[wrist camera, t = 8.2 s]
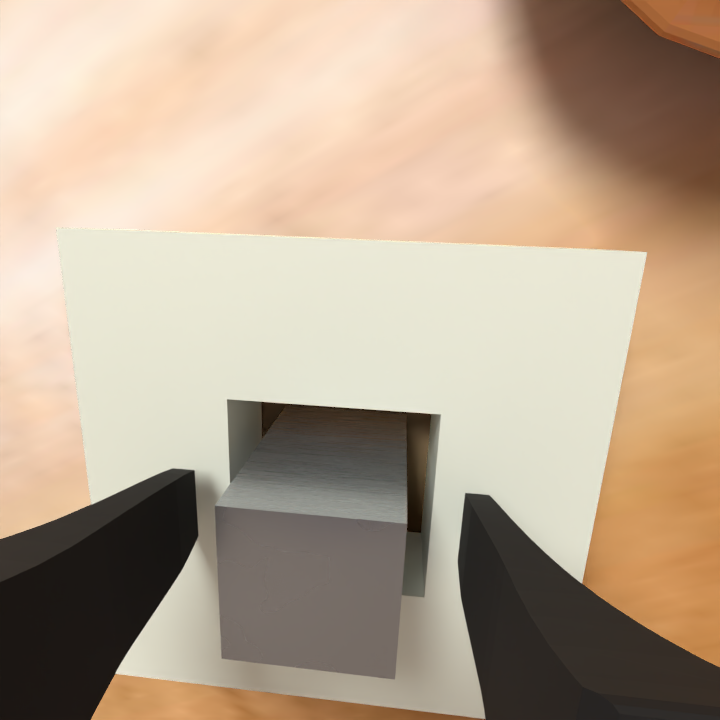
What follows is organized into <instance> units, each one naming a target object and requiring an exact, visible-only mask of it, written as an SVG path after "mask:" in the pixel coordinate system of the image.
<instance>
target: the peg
mask: <svg viewBox="0 0 720 720" xmlns="http://www.w3.org/2000/svg"><path fill="white" fill-rule="evenodd" d="M215 524H216V547H217V569H218V591H219V613H220V635H221V658H222V659H228V660H236V661H244V662H253V663H261V664H269V665H278V666H286V667H294V668H303V669H311V670H319V671H328V672H336V673H344V674H353V675H361V676H369V677H378V678H386V679H394V680H395V673H396V661H397V648H398V635H399V622H400V610H401V597H402V584H403V571H404V559H405V546H406V533H407V427H406V414H396V413H382V412H369V411H355V410H342V409H328V408H315V407H301V406H288V405H286V406H285V407H284V409H283V410H282V412H281V413H280V414H279V416H278V417H277V419H276V420H275V421H274V423H273V424H272V426H271V427H270V429H269V430H268V431H267V433H266V434H265V436H264V437H263V438H262V440H261V441H260V443H259V444H258V445H257V447H256V448H255V450H254V451H253V452H252V454H251V455H250V457H249V458H248V460H247V461H246V462H245V464H244V465H243V467H242V468H241V469H240V471H239V472H238V474H237V475H236V476H235V478H234V479H233V481H232V482H231V483H230V485H229V486H228V488H227V489H226V490H225V492H224V493H223V495H222V496H221V498H220V499H219V500H218V502H217V503H216V505H215Z"/></svg>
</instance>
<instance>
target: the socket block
mask: <svg viewBox="0 0 720 720" xmlns="http://www.w3.org/2000/svg"><path fill="white" fill-rule="evenodd" d="M56 233H57V241H58V248H59V256H60V264H61V272H62V280H63V288H64V296H65V303H66V311H67V319H68V327H69V335H70V343H71V351H72V359H73V366H74V374H75V382H76V390H77V398H78V406H79V414H80V421H81V429H82V437H83V445H84V453H85V461H86V469H87V477H88V484H89V492H90V500H91V505H92V504H94V503H96V502H99V501H101V500H103V499H105V498H107V497H109V496H112V495H114V494H116V493H118V492H120V491H122V490H124V489H127V488H129V487H131V486H133V485H135V484H137V483H139V482H141V481H144V480H146V479H148V478H150V477H152V476H155V475H157V474H159V473H161V472H164V471H167V470H169V469H172V468H176V469H187V470H195V485H196V501H197V518H198V535H199V536H198V538H197V541H196V543H195V545H194V547H193V549H192V551H191V553H190V555H189V557H188V559H187V561H186V563H185V565H184V567H183V569H182V571H181V573H180V574H179V576H178V577H177V579H176V580H175V582H174V583H173V585H172V586H171V588H170V589H169V591H168V593H167V594H166V596H165V597H164V599H163V600H162V602H161V603H160V605H159V606H158V608H157V609H156V610H155V612H154V613H153V615H152V616H151V618H150V619H149V621H148V622H147V624H146V625H145V627H144V628H143V630H142V631H141V633H140V634H139V636H138V637H137V639H136V640H135V642H134V643H133V645H132V646H131V648H130V649H129V651H128V653H127V654H126V656H125V658H124V659H123V661H122V662H121V664H120V666H119V668H118V669H117V671H116V673H115V674H122V675H130V676H138V677H146V678H154V679H163V680H171V681H179V682H187V683H195V684H203V685H212V686H220V687H228V688H236V689H244V690H252V691H261V692H269V693H277V694H285V695H293V696H301V697H310V698H318V699H326V700H334V701H342V702H350V703H358V704H367V705H375V706H383V707H391V708H399V709H407V710H416V711H424V712H432V713H440V714H448V715H456V716H465V717H473V718H481V719H485V711H484V705H483V700H482V694H481V689H480V684H479V679H478V675H477V670H476V666H475V661H474V657H473V652H472V647H471V643H470V638H469V634H468V629H467V624H466V620H465V615H464V610H463V606H462V601H461V593H460V583H459V572H458V552H459V543H460V534H461V525H462V516H463V507H464V498H465V493H472V494H484V495H490V496H491V497H492V498H493V499H494V500H495V501H496V503H497V504H498V505H499V506H500V507H501V508H502V509H503V510H504V511H505V512H506V513H507V515H508V516H509V517H510V518H511V519H512V520H513V521H514V522H515V523H516V524H517V525H518V526H519V527H520V528H521V529H522V530H523V531H524V532H525V534H526V535H527V536H528V537H529V538H530V539H531V540H532V541H533V542H535V543H536V544H537V545H538V546H539V547H540V548H541V549H542V550H543V551H544V552H545V553H546V554H547V555H548V556H550V557H551V558H552V559H553V560H554V561H555V562H556V563H557V564H558V565H560V566H561V567H562V568H563V569H564V570H565V571H567V572H568V573H569V574H570V575H571V576H573V577H574V578H575V579H576V580H578V581H579V582H580V583H582V581H583V576H584V571H585V566H586V561H587V556H588V550H589V545H590V540H591V535H592V530H593V525H594V520H595V515H596V510H597V505H598V500H599V495H600V489H601V484H602V479H603V474H604V469H605V464H606V459H607V454H608V449H609V444H610V439H611V434H612V428H613V423H614V418H615V413H616V408H617V403H618V398H619V393H620V388H621V383H622V378H623V373H624V367H625V362H626V357H627V352H628V347H629V342H630V337H631V332H632V327H633V322H634V317H635V312H636V306H637V301H638V296H639V291H640V286H641V281H642V276H643V271H644V266H645V261H646V256H647V252H636V251H620V250H604V249H585V248H561V247H537V246H513V245H489V244H465V243H441V242H417V241H393V240H369V239H345V238H321V237H297V236H273V235H249V234H225V233H201V232H177V231H153V230H129V229H95V228H59V227H56ZM262 402H273V403H287V404H301V405H315V406H329V407H343V408H357V409H371V410H385V411H399V412H413V413H427V414H431V420H430V432H429V443H428V455H427V467H426V479H425V490H424V502H423V514H422V525H421V533H417V532H407V533H406V546H405V559H404V571H403V584H402V597H401V610H400V622H399V635H398V648H397V661H396V673H395V680H394V679H386V678H378V677H369V676H361V675H353V674H344V673H336V672H328V671H319V670H311V669H303V668H294V667H286V666H278V665H269V664H261V663H253V662H244V661H236V660H228V659H222V658H221V635H220V613H219V591H218V569H217V547H216V524H215V505H216V503H217V502H218V500H219V499H220V498H221V496H222V495H223V493H224V492H225V490H226V489H227V488H228V486H229V485H230V483H231V482H232V481H233V479H234V478H235V476H236V475H237V474H238V472H239V471H240V469H241V468H242V467H243V465H244V464H245V462H246V461H247V460H248V458H249V457H250V455H251V454H252V452H253V451H254V450H255V448H256V447H257V445H258V444H259V443H260V441H261V440H262Z"/></svg>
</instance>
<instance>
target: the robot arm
mask: <svg viewBox="0 0 720 720" xmlns="http://www.w3.org/2000/svg"><path fill="white" fill-rule="evenodd" d="M198 536H199V535H198V518H197V501H196V485H195V470H187V469H176V468H172V469H169V470H167V471H164V472H161V473H159V474H157V475H155V476H152V477H150V478H148V479H146V480H144V481H141V482H139V483H137V484H135V485H133V486H131V487H129V488H127V489H124V490H122V491H120V492H118V493H116V494H114V495H112V496H109V497H107V498H105V499H103V500H101V501H99V502H96V503H94V504H92V505H89V506H87V507H85V508H82V509H80V510H78V511H75V512H73V513H71V514H68V515H66V516H64V517H61V518H59V519H56V520H54V521H51V522H49V523H46V524H43V525H41V526H38V527H35V528H32V529H29V530H27V531H24V532H21V533H18V534H15V535H12V536H9V537H6V538H3V539H0V720H91V718H92V716H93V714H94V712H95V710H96V708H97V706H98V704H99V703H100V701H101V699H102V697H103V695H104V693H105V691H106V690H107V688H108V686H109V684H110V682H111V680H112V679H113V677H114V675H115V673H116V671H117V669H118V668H119V666H120V664H121V662H122V661H123V659H124V658H125V656H126V654H127V653H128V651H129V649H130V648H131V646H132V645H133V643H134V642H135V640H136V639H137V637H138V636H139V634H140V633H141V631H142V630H143V628H144V627H145V625H146V624H147V622H148V621H149V619H150V618H151V616H152V615H153V613H154V612H155V610H156V609H157V608H158V606H159V605H160V603H161V602H162V600H163V599H164V597H165V596H166V594H167V593H168V591H169V589H170V588H171V586H172V585H173V583H174V582H175V580H176V579H177V577H178V576H179V574H180V573H181V571H182V569H183V567H184V565H185V563H186V561H187V559H188V557H189V555H190V553H191V551H192V549H193V547H194V545H195V543H196V541H197V538H198ZM458 572H459V583H460V593H461V601H462V606H463V610H464V615H465V620H466V624H467V629H468V634H469V638H470V643H471V647H472V652H473V657H474V661H475V666H476V670H477V675H478V679H479V684H480V689H481V694H482V700H483V705H484V711H485V719H486V720H720V667H718V666H715V665H713V664H711V663H709V662H707V661H705V660H703V659H701V658H699V657H697V656H695V655H694V654H692V653H690V652H688V651H686V650H685V649H683V648H681V647H679V646H677V645H675V644H674V643H672V642H670V641H668V640H666V639H664V638H663V637H661V636H659V635H658V634H656V633H654V632H653V631H651V630H649V629H648V628H646V627H644V626H643V625H641V624H639V623H638V622H636V621H635V620H633V619H632V618H630V617H629V616H627V615H625V614H624V613H622V612H621V611H619V610H618V609H616V608H615V607H613V606H612V605H610V604H609V603H607V602H606V601H605V600H603V599H602V598H600V597H599V596H597V595H596V594H595V593H594V592H592V591H591V590H590V589H588V588H587V587H586V586H584V585H583V584H582V583H580V582H579V581H578V580H576V579H575V578H574V577H573V576H571V575H570V574H569V573H568V572H567V571H565V570H564V569H563V568H562V567H561V566H560V565H558V564H557V563H556V562H555V561H554V560H553V559H552V558H551V557H550V556H548V555H547V554H546V553H545V552H544V551H543V550H542V549H541V548H540V547H539V546H538V545H537V544H536V543H535V542H533V541H532V540H531V539H530V538H529V537H528V536H527V535H526V534H525V532H524V531H523V530H522V529H521V528H520V527H519V526H518V525H517V524H516V523H515V522H514V521H513V520H512V519H511V518H510V517H509V516H508V515H507V513H506V512H505V511H504V510H503V509H502V508H501V507H500V506H499V505H498V504H497V503H496V501H495V500H494V499H493V498H492V497H491V496H490V495H484V494H472V493H465V498H464V507H463V516H462V525H461V534H460V543H459V552H458Z"/></svg>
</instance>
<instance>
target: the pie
mask: <svg viewBox="0 0 720 720" xmlns="http://www.w3.org/2000/svg"><path fill="white" fill-rule="evenodd" d="M621 1H622V2H623V3H624V4H625V5H626V6H627V7H628V8H629V9H631V10H632V11H633V12H634V13H635V14H636V15H637V16H638V17H639V18H640V19H641V20H642V21H643V22H644V23H645V24H647V25H648V26H649V27H650V28H651V29H652V30H653V31H654V32H655V33H656V34H657V35H658V36H661V37H664V38H666V39H669V40H672V41H674V42H677V43H680V44H682V45H685V46H688V47H690V48H693V49H696V50H698V51H701V52H704V53H706V54H709V55H712V56H714V57H717V58H720V0H621Z"/></svg>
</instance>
